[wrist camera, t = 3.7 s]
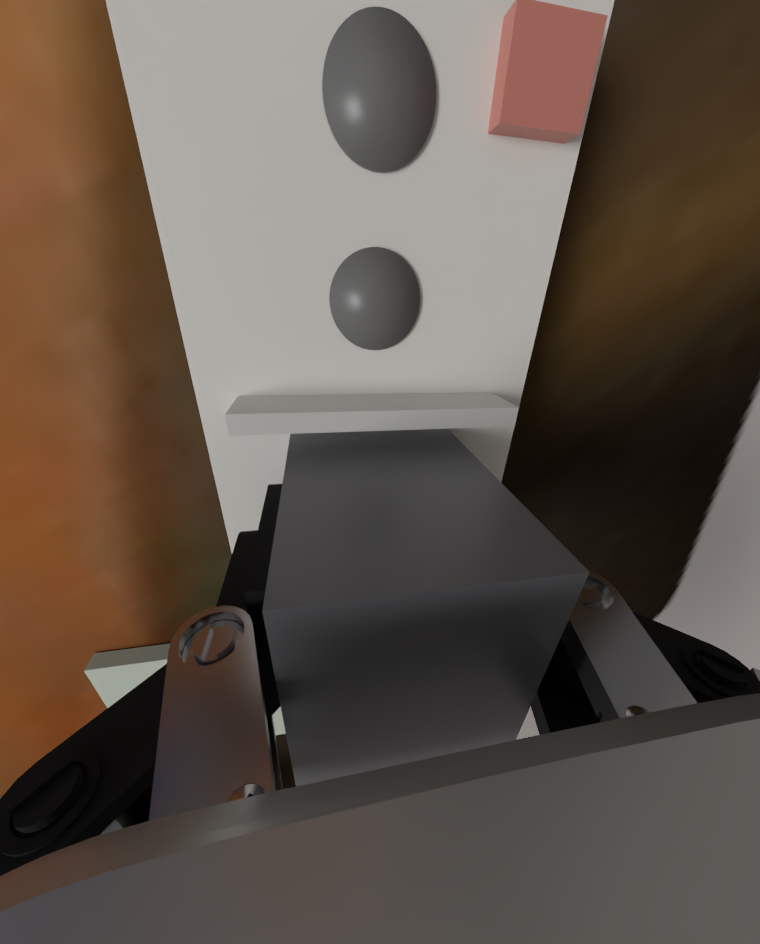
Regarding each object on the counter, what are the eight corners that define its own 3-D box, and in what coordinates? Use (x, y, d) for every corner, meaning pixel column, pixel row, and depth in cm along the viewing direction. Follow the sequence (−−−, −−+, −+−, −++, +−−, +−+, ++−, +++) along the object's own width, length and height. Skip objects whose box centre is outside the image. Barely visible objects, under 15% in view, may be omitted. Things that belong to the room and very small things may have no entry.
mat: (94, 653, 15) (83, 670, 14) (299, 626, 17) (298, 641, 16) (146, 742, 19) (140, 759, 18) (309, 714, 20) (309, 729, 20)
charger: (290, 431, 9) (262, 611, 4) (448, 426, 10) (594, 572, 5) (305, 577, 12) (299, 802, 7) (429, 564, 13) (511, 756, 7)
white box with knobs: (148, -7, 7) (-18, -308, 3) (540, 61, 8) (698, -100, 5) (256, 569, 14) (238, 657, 11) (453, 550, 16) (493, 621, 12)
